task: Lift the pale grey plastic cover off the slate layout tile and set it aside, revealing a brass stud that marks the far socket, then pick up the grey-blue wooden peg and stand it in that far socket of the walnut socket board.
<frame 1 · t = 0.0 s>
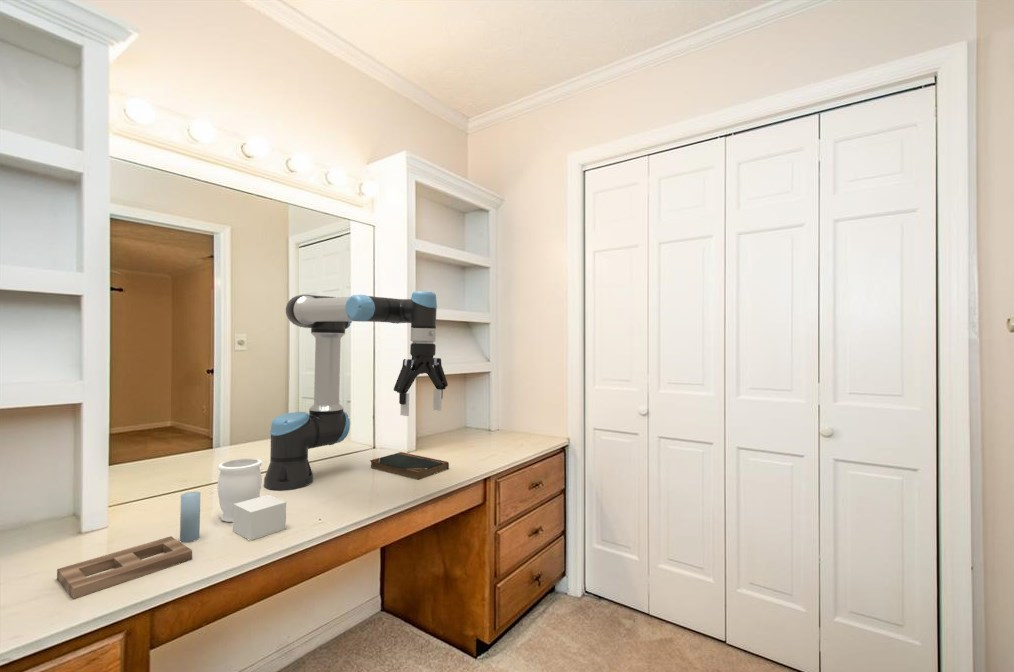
hand: (421, 412, 141), 28 cm above the counter, fingers open, 13 cm apart
peg: (189, 538, 115), on the counter
book: (409, 470, 179), on the counter
jar: (239, 517, 129), on the counter
socket board: (127, 568, 100), on the counter
layout tile: (259, 530, 121), on the counter
cover: (259, 530, 121), on the counter
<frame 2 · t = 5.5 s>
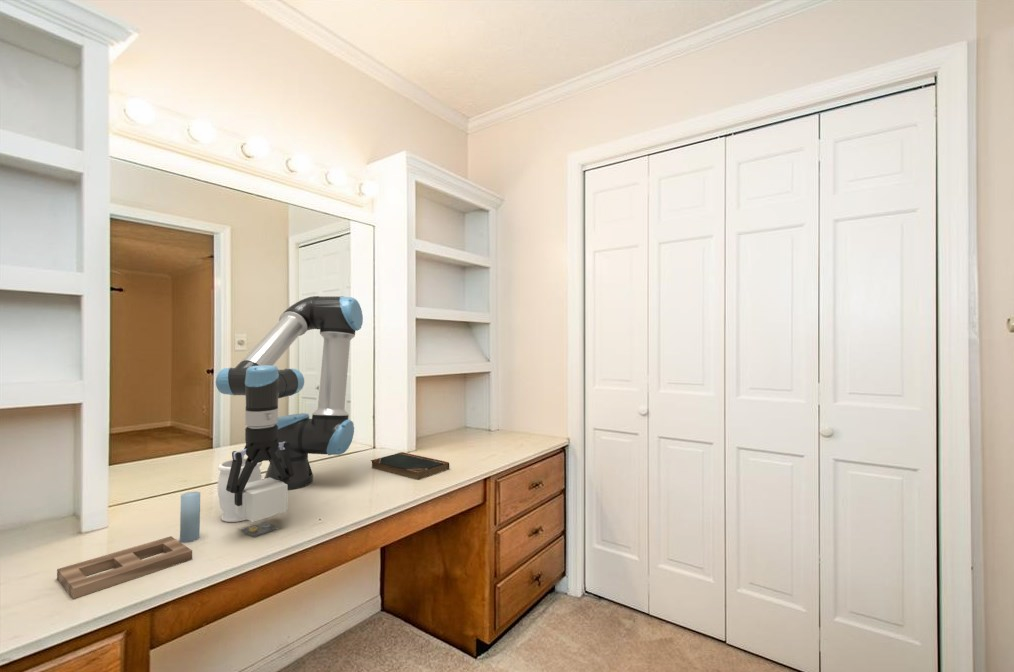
hand: (261, 510, 122), 5 cm above the counter, fingers closed on cover, 9 cm apart
cover: (261, 511, 122), point 4 cm above the counter, touching gripper
everything else where it was.
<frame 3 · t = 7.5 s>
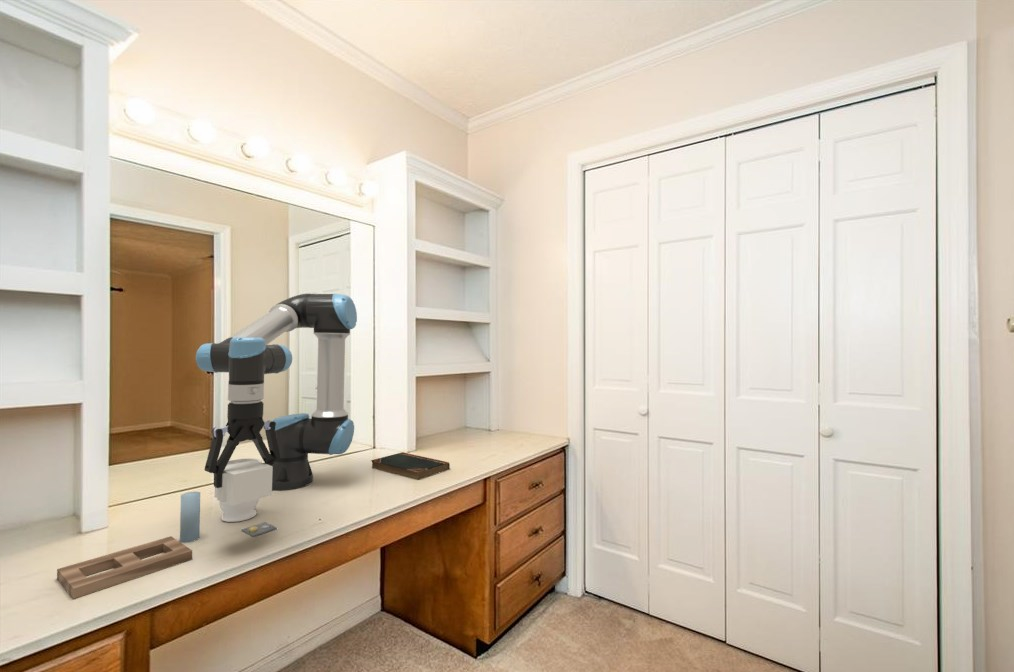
hand: (243, 495, 112), 12 cm above the counter, fingers closed on cover, 9 cm apart
cover: (243, 496, 112), point 12 cm above the counter, touching gripper
everything else where it was.
when the fingers open (1 cm above the counter, at t = 10.0 s): cover stays where it is, resting on layout tile.
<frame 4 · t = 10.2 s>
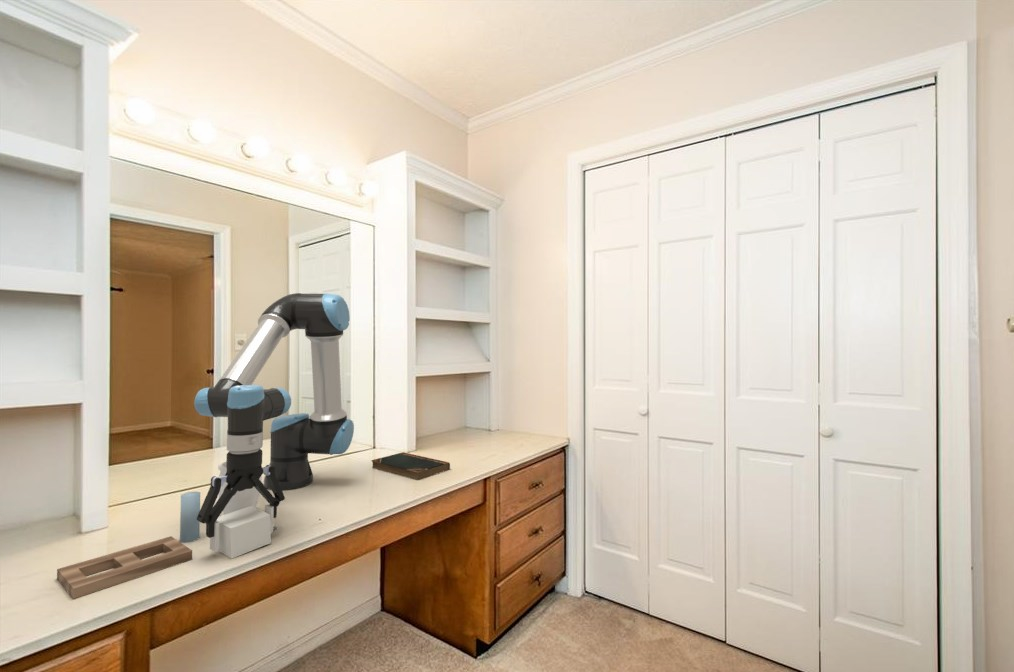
hand: (242, 540, 112), 1 cm above the counter, fingers open, 12 cm apart
cover: (242, 545, 112), resting on layout tile
everything else where it was.
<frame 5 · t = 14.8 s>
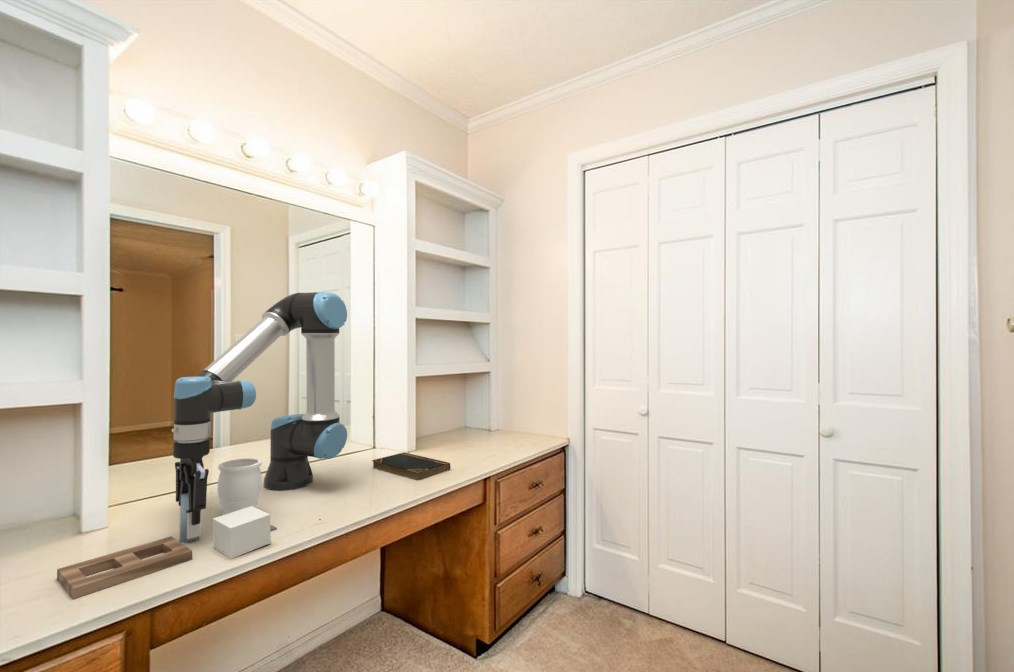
hand: (189, 534, 115), 1 cm above the counter, fingers closed on peg, 4 cm apart
peg: (189, 538, 115), on the counter, touching gripper
everything else where it was.
when the fingers open (3 cm above the counter, at t = 20.1 s): peg stays where it is, resting in socket board.
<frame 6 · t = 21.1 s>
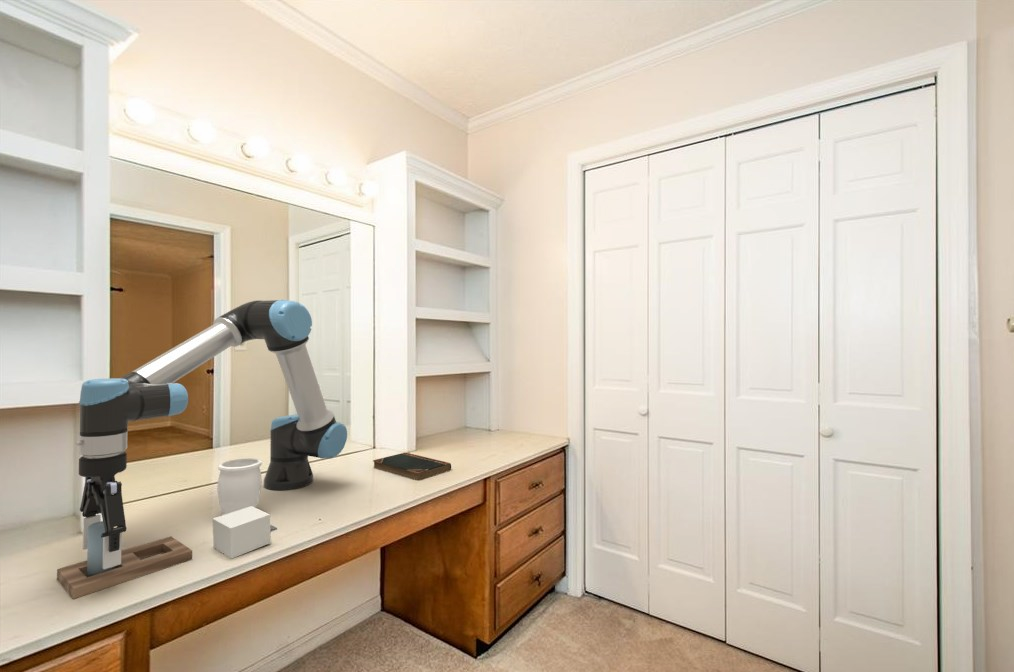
hand: (101, 556, 96), 4 cm above the counter, fingers open, 13 cm apart
peg: (99, 577, 96), resting in socket board
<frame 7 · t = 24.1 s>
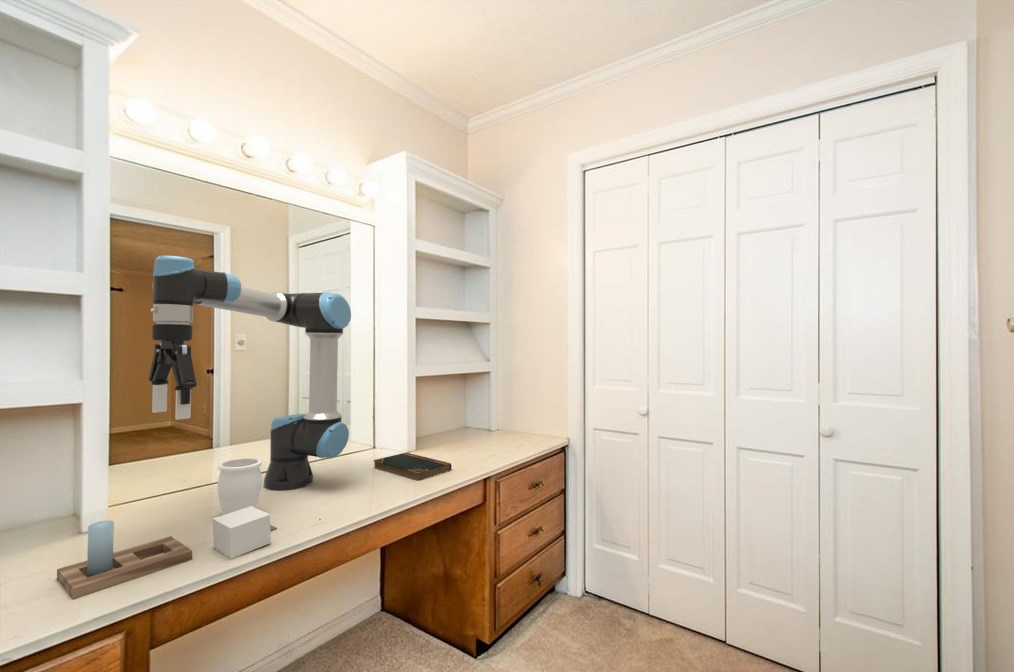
hand: (170, 415, 108), 32 cm above the counter, fingers open, 13 cm apart
at the end: peg 0.1 cm from the target spot on the socket board, point 0.0 cm above the socket board's base; peg tilted 0°; cover moved 9.3 cm from its start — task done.
